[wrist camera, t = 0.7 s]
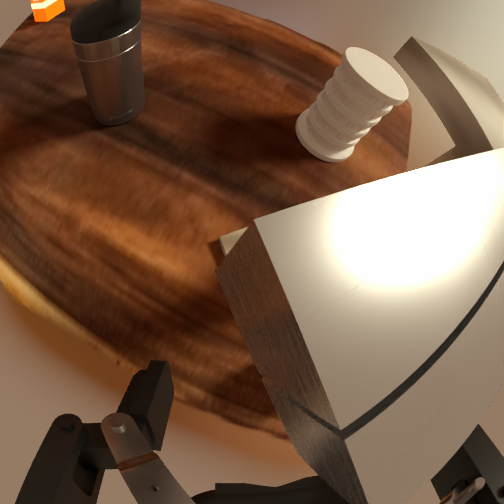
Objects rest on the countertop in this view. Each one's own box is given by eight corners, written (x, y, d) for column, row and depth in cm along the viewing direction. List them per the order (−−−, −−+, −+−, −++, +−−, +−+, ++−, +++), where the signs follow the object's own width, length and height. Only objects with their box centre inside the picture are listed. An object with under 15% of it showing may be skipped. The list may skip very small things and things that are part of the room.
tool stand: (218, 239, 36) (347, 4, 6) (310, 208, 40) (478, 67, 10) (264, 350, 34) (516, 427, 4) (351, 304, 39) (563, 268, 8)
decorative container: (325, 107, 47) (371, 46, 30) (361, 152, 46) (420, 98, 29) (282, 120, 43) (326, 45, 26) (322, 171, 43) (386, 107, 26)
